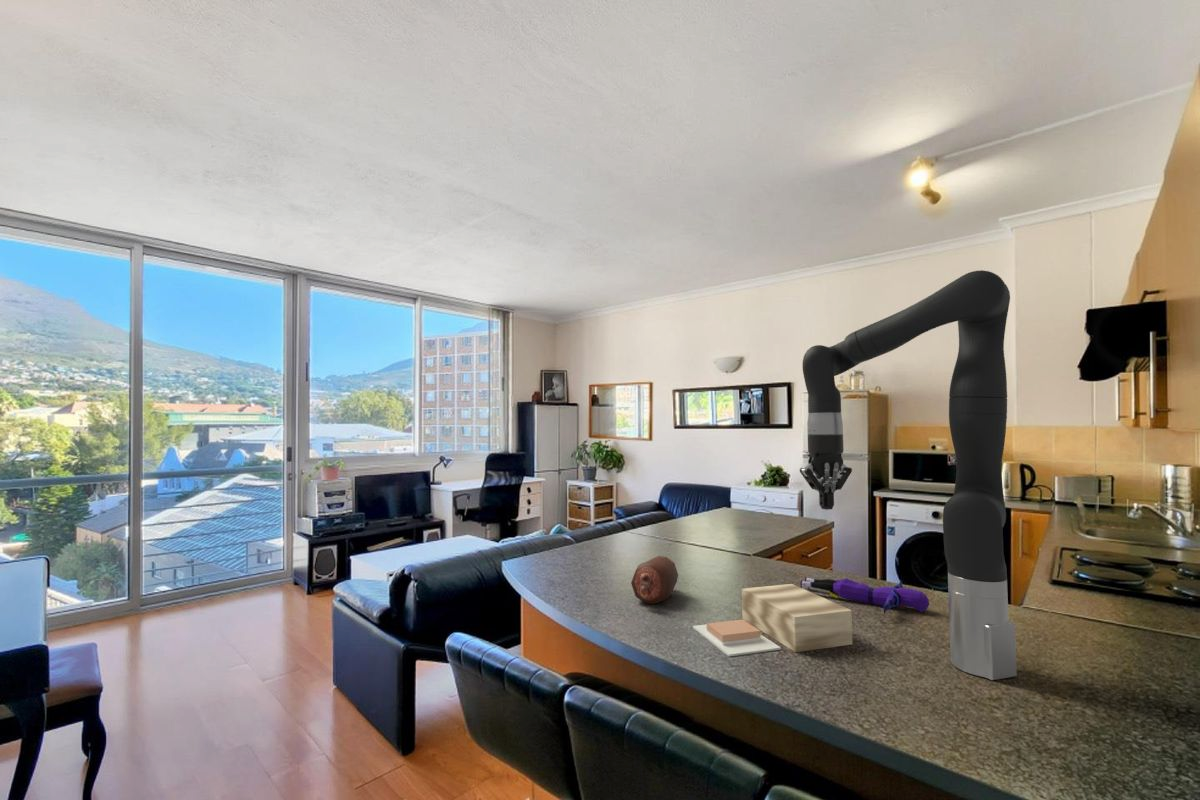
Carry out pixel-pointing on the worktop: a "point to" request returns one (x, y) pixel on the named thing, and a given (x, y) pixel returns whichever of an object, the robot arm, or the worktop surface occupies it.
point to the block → (797, 617)
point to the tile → (733, 632)
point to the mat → (739, 644)
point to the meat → (655, 580)
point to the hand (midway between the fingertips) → (826, 508)
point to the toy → (871, 593)
